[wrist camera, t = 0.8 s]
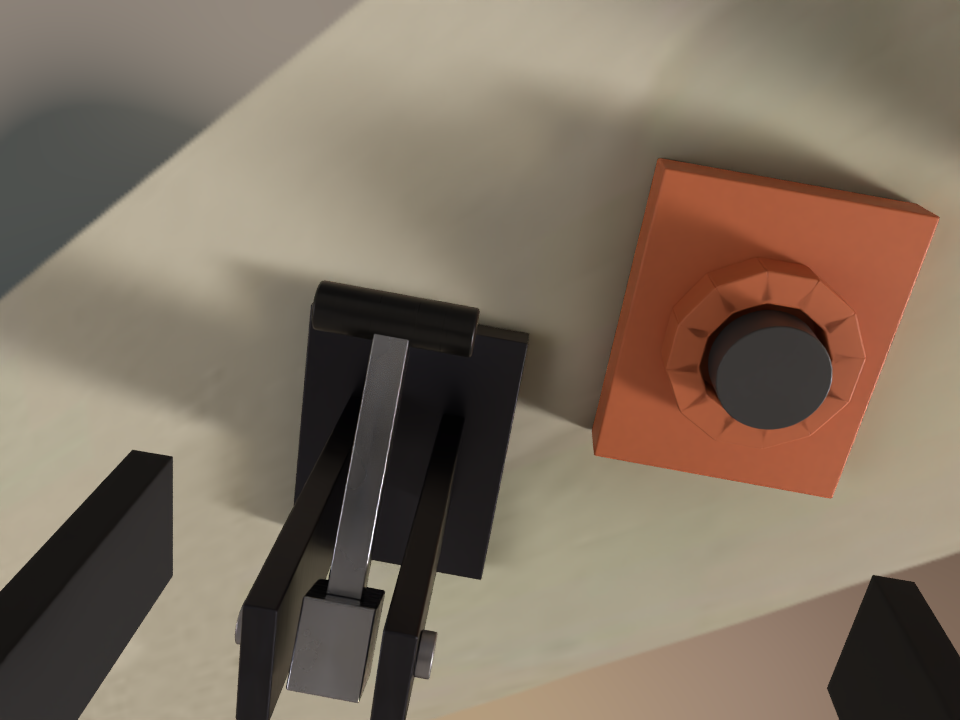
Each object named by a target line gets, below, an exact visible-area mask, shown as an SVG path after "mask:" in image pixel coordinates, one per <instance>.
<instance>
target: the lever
mask: <svg viewBox="0 0 960 720" xmlns="http://www.w3.org/2000/svg"><path fill="white" fill-rule="evenodd" d="M479 313H480V311H479V309H478V308H474V307H468V306H463V305H457V304H452V303H446V302H441V301H435V300H430V299H424V298H419V297H413V296H407V295H402V294H396V293H391V292H385V291H380V290H374V289H369V288H363V287H358V286H352V285H347V284H341V283H335V282H330V281H321V282H320V284H319V286H318V288H317V290H316V293H315V297H314V302H313V307H312V326H313V328H314V329H315V330H319V331H325V332H330V333H336V334H341V335H347V336H352V337H358V338H363V339H369V340H373V341H372V347H371V352H370V357H369V363H368V368H367V374H366V379H365V384H364V390H363V395H362V401H361V406H360V411H359V417H358V422H357V428H356V433H355V438H354V444H353V449H352V455H351V460H350V465H349V471H348V476H347V482H346V487H345V492H344V498H343V503H342V509H341V514H340V519H339V525H338V530H337V536H336V541H335V546H334V552H333V557H332V563H331V568H330V573H329V579H328V580H325V579H318V580H317V582H316V583H315V584H314V585H313V586H312V587H311V589H310V590H309V591H308V592H307V593H306V594H305V596H304V597H303V599H302V605H301V610H300V616H299V621H298V626H297V632H296V637H295V642H294V648H293V653H292V659H291V664H290V669H289V675H288V680H287V685H286V689H287V690H290V691H296V692H301V693H306V694H312V695H317V696H322V697H328V698H333V699H339V700H344V701H349V702H355V703H358V702H359V701H360V698H361V696H362V693H363V691H364V688H365V686H366V683H367V681H368V678H369V676H370V672H371V666H372V661H373V655H374V650H375V644H376V639H377V633H378V628H379V623H380V617H381V612H382V606H383V601H384V595H385V591H384V590H379V589H374V588H369V587H367V582H368V577H369V571H370V566H371V560H372V555H373V550H374V544H375V539H376V533H377V528H378V522H379V517H380V512H381V506H382V501H383V495H384V490H385V484H386V479H387V473H388V468H389V463H390V457H391V452H392V446H393V441H394V435H395V430H396V425H397V419H398V414H399V408H400V403H401V397H402V392H403V387H404V381H405V376H406V370H407V365H408V359H409V354H410V348H411V347H413V348H419V349H424V350H430V351H435V352H441V353H446V354H452V355H457V356H463V357H471V355H472V352H473V347H474V342H475V337H476V331H477V326H478V320H479Z"/></svg>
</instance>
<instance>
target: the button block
mask: <svg viewBox="0 0 960 720" xmlns="http://www.w3.org/2000/svg"><path fill="white" fill-rule="evenodd" d="M938 222H939V217H938V216H937V215H935V214H933V213H931V212H930V211H928V210H926V209H924V208H923V207H921V206H919V205H918V204H915V203H910V202H904V201H898V200H893V199H887V198H882V197H876V196H870V195H865V194H859V193H853V192H848V191H842V190H837V189H831V188H825V187H820V186H814V185H809V184H803V183H797V182H792V181H786V180H781V179H775V178H769V177H764V176H758V175H752V174H747V173H741V172H736V171H730V170H724V169H719V168H713V167H708V166H702V165H696V164H691V163H685V162H679V161H674V160H668V159H663V158H659V159H658V160H657V164H656V168H655V173H654V177H653V181H652V185H651V189H650V193H649V197H648V201H647V205H646V210H645V214H644V218H643V222H642V226H641V230H640V234H639V238H638V243H637V247H636V251H635V255H634V259H633V263H632V267H631V271H630V276H629V280H628V284H627V288H626V292H625V296H624V300H623V304H622V309H621V313H620V317H619V321H618V325H617V329H616V333H615V337H614V342H613V346H612V350H611V354H610V358H609V362H608V366H607V370H606V374H605V379H604V383H603V387H602V391H601V395H600V399H599V403H598V407H597V412H596V416H595V420H594V424H593V428H592V437H593V449H594V455H596V456H601V457H606V458H612V459H617V460H623V461H628V462H634V463H639V464H645V465H650V466H656V467H661V468H667V469H672V470H678V471H683V472H689V473H694V474H699V475H705V476H710V477H716V478H721V479H727V480H732V481H738V482H743V483H749V484H754V485H760V486H765V487H771V488H776V489H782V490H787V491H793V492H798V493H804V494H809V495H815V496H820V497H826V498H832V497H833V495H834V492H835V489H836V487H837V484H838V482H839V479H840V476H841V474H842V471H843V469H844V466H845V463H846V461H847V458H848V456H849V453H850V450H851V448H852V445H853V443H854V440H855V437H856V435H857V432H858V430H859V427H860V424H861V422H862V419H863V417H864V414H865V411H866V409H867V406H868V404H869V401H870V398H871V396H872V393H873V391H874V388H875V385H876V383H877V380H878V378H879V375H880V372H881V370H882V367H883V365H884V362H885V359H886V357H887V354H888V352H889V349H890V346H891V344H892V341H893V339H894V336H895V334H896V331H897V328H898V326H899V323H900V321H901V318H902V315H903V313H904V310H905V308H906V305H907V302H908V300H909V297H910V295H911V292H912V289H913V287H914V284H915V282H916V279H917V276H918V274H919V271H920V269H921V266H922V263H923V261H924V258H925V256H926V253H927V250H928V248H929V245H930V243H931V240H932V237H933V235H934V232H935V230H936V227H937V224H938ZM761 310H777V311H782V312H786V313H789V314H792V315H794V316H796V317H798V318H799V319H801V320H802V321H803V322H805V323H806V324H807V325H808V326H809V327H810V329H811V330H812V331H813V333H814V334H815V335H816V337H817V338H818V339H819V341H820V342H821V343H822V344H823V346H824V347H825V349H826V350H827V352H828V354H829V356H830V359H831V362H832V368H833V377H832V383H831V387H830V390H829V392H828V395H827V397H826V398H825V400H824V402H823V403H822V404H821V405H820V407H819V408H818V409H817V410H816V411H815V412H814V413H813V414H812V415H810V416H809V417H808V418H806V419H804V420H803V421H801V422H799V423H797V424H795V425H792V426H789V427H786V428H781V429H774V430H764V429H757V428H752V427H749V426H746V425H744V424H742V423H740V422H738V421H736V420H735V419H734V418H732V417H731V416H730V415H729V414H728V413H727V412H726V411H725V409H724V408H723V407H722V405H721V403H720V401H719V399H718V397H717V394H716V392H715V389H714V387H713V384H712V382H711V379H710V376H709V372H708V357H709V353H710V349H711V347H712V344H713V342H714V341H715V339H716V337H717V336H718V334H719V333H720V332H721V331H722V330H723V329H724V328H725V327H726V326H727V325H728V324H729V323H731V322H732V321H734V320H735V319H737V318H739V317H741V316H743V315H745V314H748V313H751V312H755V311H761Z"/></svg>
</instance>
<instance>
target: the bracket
mask: <svg viewBox="0 0 960 720" xmlns="http://www.w3.org/2000/svg"><path fill="white" fill-rule="evenodd" d="M312 307H313V303H312V305H311V311H310V323H309V334H308V346H307V358H306V369H305V381H304V392H303V404H302V415H301V427H300V438H299V450H298V461H297V473H296V484H295V496H294V507H293V509H292V511H291V513H290V514H289V516H288V518H287V520H286V522H285V524H284V526H283V528H282V530H281V532H280V534H279V536H278V538H277V540H276V542H275V544H274V546H273V547H272V549H271V551H270V553H269V555H268V557H267V559H266V561H265V563H264V565H263V567H262V569H261V571H260V573H259V575H258V577H257V579H256V581H255V582H254V584H253V586H252V588H251V590H250V592H249V594H248V596H247V598H246V600H245V601H244V603H243V605H242V607H241V610H240V613H239V616H238V620H237V624H236V629H235V642H236V643H237V644H240V658H239V674H238V690H237V706H236V720H270V718H271V716H272V713H273V711H274V708H275V705H276V703H277V700H278V698H279V695H280V693H281V690H282V688H283V685H284V683H285V680H286V678H287V675H288V673H289V669H290V664H291V659H292V653H293V648H294V642H295V637H296V632H297V626H298V621H299V616H300V610H301V605H302V599H303V597H304V596H305V594H306V593H307V592H308V591H309V590H310V589H311V587H312V586H313V585H314V584H315V583H316V582H317V580H318V579H326V577H327V574H328V572H329V569H330V566H331V563H332V557H333V552H334V546H335V541H336V536H337V530H338V525H339V519H340V514H341V509H342V503H343V498H344V492H345V487H346V482H347V476H348V471H349V465H350V460H351V455H352V449H353V444H354V438H355V433H356V428H357V422H358V417H359V411H360V406H361V401H362V395H363V390H364V384H365V379H366V374H367V368H368V363H369V357H370V352H371V347H372V341H373V340H369V339H363V338H358V337H352V336H347V335H341V334H336V333H330V332H325V331H319V330H315V329H314V328H313V326H312ZM528 340H529V334H528V333H523V332H517V331H511V330H506V329H500V328H495V327H489V326H484V325H478V326H477V331H476V337H475V342H474V347H473V352H472V355H471V357H463V356H457V355H452V354H446V353H441V352H435V351H430V350H424V349H419V348H413V347H411V348H410V354H409V359H408V365H407V370H406V376H405V381H404V387H403V392H402V397H401V403H400V408H399V414H398V419H397V425H396V430H395V435H394V441H393V446H392V452H391V457H390V463H389V468H388V473H387V479H386V484H385V490H384V495H383V501H382V506H381V512H380V517H379V522H378V528H377V533H376V539H375V544H374V550H373V555H372V560H376V561H381V562H386V563H392V564H397V565H401V567H400V571H399V575H398V579H397V582H396V586H395V590H394V593H393V597H392V601H391V604H390V608H389V612H388V615H387V619H386V623H385V626H384V630H383V635H382V642H381V649H380V656H379V663H378V669H377V676H376V683H375V690H374V697H373V704H372V710H371V717H370V720H406V715H407V710H408V706H409V701H410V696H411V691H412V686H413V682H414V677H417V678H423V679H429V678H430V672H431V667H432V662H433V656H434V651H435V645H436V640H437V632H434V631H428V630H424V629H425V624H426V619H427V614H428V609H429V605H430V600H431V595H432V590H433V585H434V581H435V576H436V572H441V573H446V574H451V575H457V576H462V577H468V578H473V579H479V580H481V579H482V573H483V568H484V563H485V558H486V553H487V548H488V543H489V538H490V533H491V528H492V523H493V518H494V513H495V508H496V503H497V498H498V493H499V488H500V483H501V478H502V473H503V468H504V463H505V458H506V453H507V448H508V443H509V438H510V433H511V428H512V423H513V418H514V413H515V408H516V403H517V398H518V393H519V388H520V383H521V378H522V373H523V368H524V363H525V358H526V353H527V348H528Z"/></svg>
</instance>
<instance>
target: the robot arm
mask: <svg viewBox="0 0 960 720" xmlns="http://www.w3.org/2000/svg"><path fill="white" fill-rule="evenodd" d="M172 576H173V457H172V456H166V455H160V454H154V453H148V452H142V451H137V450H132V451H131V452H130V453H129V454H128V455H127V456H126V457H125V458H124V459H123V461H122V462H121V463H120V464H119V465H118V466H117V467H116V468H115V469H114V470H113V471H112V472H111V473H110V474H109V476H108V477H107V478H106V479H105V480H104V481H103V482H102V483H101V484H100V485H99V486H98V487H97V488H96V489H95V491H94V492H93V493H92V494H91V495H90V496H89V497H88V498H87V499H86V500H85V501H84V502H83V503H82V504H81V506H80V507H79V508H78V509H77V510H76V511H75V512H74V513H73V514H72V515H71V516H70V517H69V518H68V520H67V521H66V522H65V523H64V524H63V525H62V526H61V527H60V528H59V529H58V530H57V531H56V532H55V533H54V535H53V536H52V537H51V538H50V539H49V540H48V541H47V542H46V543H45V544H44V545H43V546H42V547H41V548H40V550H39V551H38V552H37V553H36V554H35V555H34V556H33V557H32V558H31V559H30V560H29V561H28V562H27V563H26V565H25V566H24V567H23V568H22V569H21V570H20V571H19V572H18V573H17V574H16V575H15V576H14V577H13V578H12V580H11V581H10V582H9V583H8V584H7V585H6V586H5V587H4V588H3V589H2V590H1V591H0V720H78V718H79V717H80V715H81V714H82V712H83V711H84V709H85V708H86V706H87V705H88V703H89V702H90V700H91V699H92V697H93V696H94V694H95V693H96V691H97V690H98V688H99V686H100V685H101V683H102V682H103V680H104V679H105V677H106V676H107V674H108V673H109V671H110V670H111V668H112V667H113V665H114V664H115V662H116V661H117V659H118V658H119V656H120V655H121V653H122V652H123V650H124V649H125V647H126V646H127V644H128V643H129V641H130V640H131V638H132V637H133V635H134V634H135V632H136V630H137V629H138V627H139V626H140V624H141V623H142V621H143V620H144V618H145V617H146V615H147V614H148V612H149V611H150V609H151V608H152V606H153V605H154V603H155V602H156V600H157V599H158V597H159V596H160V594H161V593H162V591H163V590H164V588H165V587H166V585H167V584H168V582H169V581H170V579H171V578H172ZM827 689H828V692H829V694H830V697H831V699H832V702H833V705H834V707H835V710H836V712H837V715H838V717H839V720H960V657H959V655H958V653H957V651H956V650H955V648H954V647H953V645H952V643H951V641H950V640H949V638H948V637H947V635H946V633H945V632H944V630H943V628H942V627H941V625H940V623H939V622H938V620H937V619H936V617H935V615H934V614H933V612H932V610H931V609H930V607H929V606H928V604H927V602H926V601H925V599H924V597H923V596H922V594H921V592H920V591H919V589H918V587H917V586H916V584H915V582H911V581H905V580H899V579H893V578H887V577H881V576H875V575H873V576H872V578H871V581H870V583H869V586H868V588H867V591H866V593H865V596H864V598H863V600H862V603H861V605H860V608H859V610H858V613H857V615H856V618H855V620H854V623H853V625H852V628H851V630H850V633H849V635H848V638H847V640H846V642H845V645H844V647H843V650H842V652H841V655H840V657H839V660H838V662H837V665H836V667H835V670H834V672H833V675H832V677H831V680H830V682H829V684H828V687H827Z"/></svg>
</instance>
